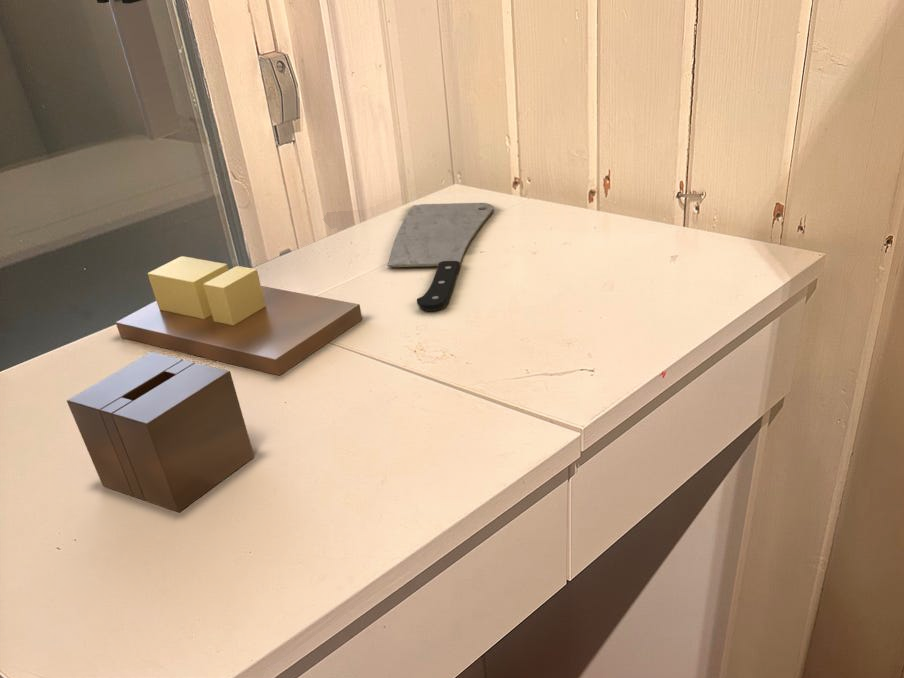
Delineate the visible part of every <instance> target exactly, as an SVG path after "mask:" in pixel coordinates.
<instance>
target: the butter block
mask: <svg viewBox="0 0 904 678" xmlns="http://www.w3.org/2000/svg"><path fill="white" fill-rule="evenodd" d="M228 270H230V269H229V266H228V264H227V263H223V262H217V261H212V260H207V259H206V260H205V259H200V258H196V257H195V258H194V257H190V256H189V257H188V256H185V255H184V256H183V255H180V256H179V257H177V258H175V259H173V260H170V261H169V262H167V263H165V264H163V265H161V266H159V267H157V268H155V269H153V270H151V271H149V272H147V276H148V280H149V282H150V285H151V289H152V292H153V295H154V297H155V301H157V304H158V307H159V310H164V311H168V312H173V313H178V314H182V315H187V316H191V317H196V318H201V319H206V318H207V317H209V316H211V315H212V313H211V310H210V306H209V303H208V299H207V296H206V292H205V289H204V285H203V284H204V283H206V282H208V281H210V280H212V279H214V278H215V277H217V276H219V275H221V274H223V273H225V272H226V271H228Z"/></svg>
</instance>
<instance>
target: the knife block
mask: <svg viewBox="0 0 904 678" xmlns="http://www.w3.org/2000/svg"><path fill="white" fill-rule="evenodd" d="M66 403H67V405H68V407H69V410H70V412H71V414H72V417H73V420H74V422H75V424H76V426H77V429H78V431H79V433H80V437H81V438H82V441H83V442H84V445H85V448H86V450H87V452H88V454H89V457H90V460H91V462H92V464H93V467H94V468H95V471H96V473H97V477H98V478H99V480H100V484H101V485H102V486H103V487H106V488H108V489H111V490H113V491H116V492H120V493H122V494H125V495H128V496H131V497H134V498H137V499H139V500H142V501H146V502H148V503H151V504H154V505H157V506H159V507H163V508H165V509H169V510H171V511H174V512H177V513H181V511H183V510H184V509H186V508H187V507H188V506H189V505H191V504H192V503H194V502H195V501H196V500H198V499H199V498H201V497H202V496H203V495H205V494H206V493H207V492H209V491H210V490H211V489H213V488H214V487H216V486H217V485H218V484H219V483H221V482H222V481H224V480H225V479H226V478H228V477H229V476H230V475H232V474H233V473H234V472H236V471H237V470H238V469H240V468H241V467H243V466H244V465H245V464H246V463H248V462H249V461H251V460H252V459H254V458H255V454H254V450H253V446H252V443H251V440H250V436H249V432H248V429H247V425H246V422H245V418H244V414H243V412H242V408H241V403H240V401H239V397H238V394H237V391H236V387H235V385H234V380H233V376H232V373H231V371H230V370H228V369H227V370H226V369H224V368H219V367H215V366H211V365H206V364H204V363H203V364H202V363H199V362H195V361H190V360H187V359H183V358H179V357H174V356H171V355H167V354H163V353H159V352H154V351H150V352H148V353H147V354H145V355H143V356H141V357H139V358H138V359H136V360H134V361H133V362H131V363H129V364H128V365H126V366H124V367H122V368H121V369H118V370H117V371H115V372H114V373H112V374H110V375H108V376H107V377H105V378H103V379H101V380H100V381H98V382H96V383H94V384H92V385H91V386H89V387H88V388H86V389H83V390H82V391H80V392H79V393H77V394H75V395H74V396H72V397H70V398H69V399H67V400H66Z"/></svg>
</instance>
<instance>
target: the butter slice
mask: <svg viewBox="0 0 904 678" xmlns="http://www.w3.org/2000/svg"><path fill="white" fill-rule="evenodd" d="M203 285H204V289H205V292H206V296H207V299H208V303H209V306H210V310H211V313H212V317H213V320H214V322H219V323H223V324H228V325H233V326H234V325H235V324H237V323H239V322H241V321H242V320H244V319H246V318H247V317H249V316H251V315H252V314H254V313H256V312H257V311H259V310H261V309H262V308H264V307H266V305H265V301H264V297H263V293H262V289H261V286H262V285H261V281H260V277H259V273H258V269H256V268H251V267H246V266H240V265H235V266H234V267H232V268H230V269H229V270H228V271H226V272H225V273H223V274H221V275H219V276H217V277H215V278H214V279H212V280H210V281H208V282H206V283H204V284H203Z"/></svg>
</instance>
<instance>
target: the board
mask: <svg viewBox="0 0 904 678" xmlns="http://www.w3.org/2000/svg"><path fill="white" fill-rule="evenodd" d="M261 289H262V293H263V297H264V301H265V305H266V307H264V308H262V309H261V310H259V311H257V312H256V313H254V314H252V315H251V316H249V317H247V318H246V319H244V320H242V321H241V322H239V323H237V324H235V325H234V326H233V325H228V324H223V323H219V322H214V320H213V317H212V315H211V316H209V317H207V318H206V319H201V318H196V317H191V316H187V315H182V314H178V313H173V312H168V311H164V310H159V307H158V304H157V301H156V300H155V301H153V302H150V303H149V304H147V305H145V306H144V307H142V308H140V309H138V310H135V311H134V312H132V313H130V314H129V315H127V316H125V317H123V318H121V319H119V320H117V321H115V325H116V327H117V330H118V333H119V336H120V338H122V339H126V340H131V341H134V342H138V343H143V344H146V345H151V346H155V347H160V348H162V349H163V348H164V349H168V350H172V351H175V352H176V351H177V352H179V353H183V354H187V355H193V356H197V357H200V358H205V359H209V360H213V361H218V362H221V363H226V364H229V365H234V366H238V367H242V368H246V369H250V370H253V371H258V372H263V373H267V374H271V375H276V376H281V375H283V374H285V373H286V372H287V371H289V370H290V369H291V368H293V367H295V366H296V365H298V364H299V363H300V362H302V361H303V360H305V359H307V358H308V357H309V356H310V355H312V354H314V353H315V352H317V351H318V350H320V349H322V348H323V347H324V346H325V345H327V344H329V343H330V342H332V341H333V340H334V339H336V338H337V337H339V336H340V335H342V334H344V333H345V332H347V330H350V329H351V328H352V327H353V326H355V325H357V324H358V323H359V322H361V321H362V320H363V316H362V309H361V304H359V303H355V302H349V301H344V300H338V299H333V298H328V297H323V296H318V295H311V294H306V293H302V292H298V291H297V292H296V291H291V290H285V289H281V288H275V287H269V286H264V285H261Z"/></svg>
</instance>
